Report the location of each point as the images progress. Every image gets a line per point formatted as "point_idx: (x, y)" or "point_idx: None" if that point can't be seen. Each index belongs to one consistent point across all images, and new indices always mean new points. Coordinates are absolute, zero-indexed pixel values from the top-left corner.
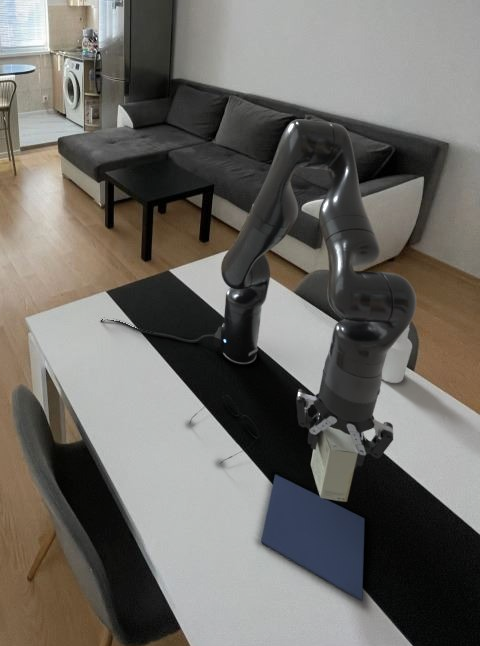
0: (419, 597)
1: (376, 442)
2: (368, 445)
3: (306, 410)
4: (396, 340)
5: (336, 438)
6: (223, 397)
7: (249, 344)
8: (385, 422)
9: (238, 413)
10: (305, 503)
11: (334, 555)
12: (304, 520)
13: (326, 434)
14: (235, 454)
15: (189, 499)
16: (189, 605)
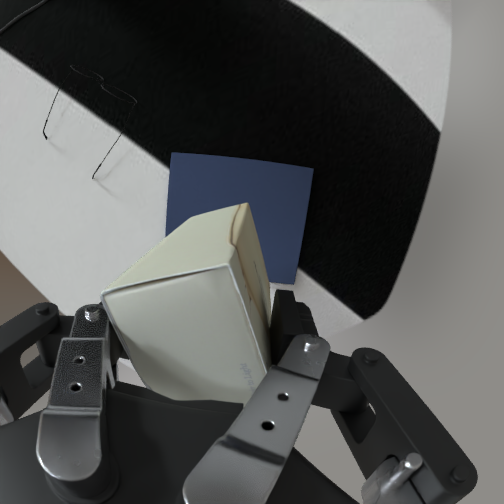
0: (363, 248)
1: (360, 447)
2: (328, 397)
3: (28, 344)
4: None
5: (189, 387)
6: (75, 65)
7: None
8: (449, 494)
9: (98, 80)
10: (221, 182)
11: (263, 244)
12: None
13: (147, 377)
14: (104, 158)
15: (75, 251)
16: None
